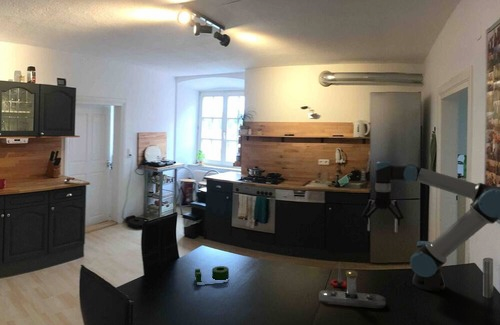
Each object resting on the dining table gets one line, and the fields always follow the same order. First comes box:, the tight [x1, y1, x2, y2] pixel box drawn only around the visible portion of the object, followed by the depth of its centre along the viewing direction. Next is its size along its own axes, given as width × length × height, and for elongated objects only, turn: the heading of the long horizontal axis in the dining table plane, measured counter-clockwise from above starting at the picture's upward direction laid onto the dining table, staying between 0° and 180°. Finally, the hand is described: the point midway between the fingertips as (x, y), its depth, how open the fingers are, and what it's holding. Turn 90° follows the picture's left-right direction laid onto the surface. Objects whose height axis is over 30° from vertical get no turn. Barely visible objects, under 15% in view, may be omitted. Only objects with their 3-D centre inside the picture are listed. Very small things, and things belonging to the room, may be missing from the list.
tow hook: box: [330, 262, 347, 289], centre depth 180 cm, size 8×13×9 cm
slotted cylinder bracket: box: [194, 265, 230, 283], centre depth 185 cm, size 18×9×6 cm, turn 104°
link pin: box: [345, 270, 359, 299], centre depth 159 cm, size 5×5×14 cm
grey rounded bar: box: [318, 289, 386, 309], centre depth 159 cm, size 30×8×4 cm, turn 77°
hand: (382, 231), depth 178 cm, fingers open, 13 cm apart
